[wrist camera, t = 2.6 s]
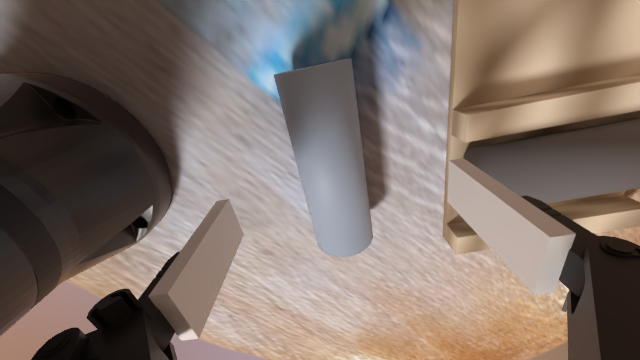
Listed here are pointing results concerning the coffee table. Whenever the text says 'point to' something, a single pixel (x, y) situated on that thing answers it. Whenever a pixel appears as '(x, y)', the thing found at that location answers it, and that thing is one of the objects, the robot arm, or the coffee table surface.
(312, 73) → the gray dowel
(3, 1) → the coffee table surface
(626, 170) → the charcoal rod
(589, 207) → the slot rack
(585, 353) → the robot arm
